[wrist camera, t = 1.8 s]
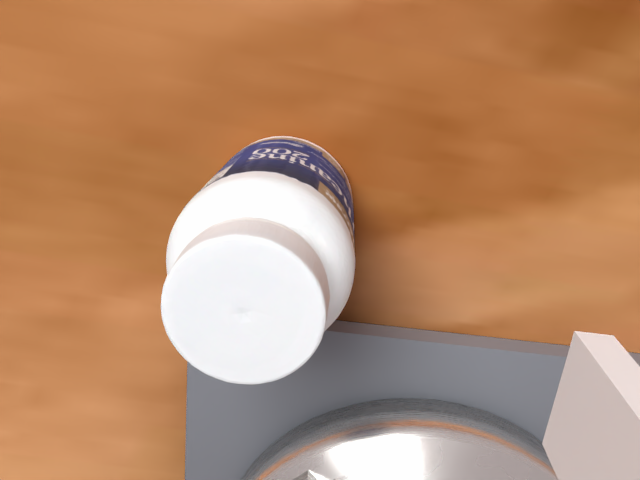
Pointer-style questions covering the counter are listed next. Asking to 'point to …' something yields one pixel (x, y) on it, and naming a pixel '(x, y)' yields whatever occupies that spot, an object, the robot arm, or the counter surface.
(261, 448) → the grey square plate
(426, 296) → the counter surface
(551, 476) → the grey shallow round piece
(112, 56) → the counter surface
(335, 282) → the pill bottle
